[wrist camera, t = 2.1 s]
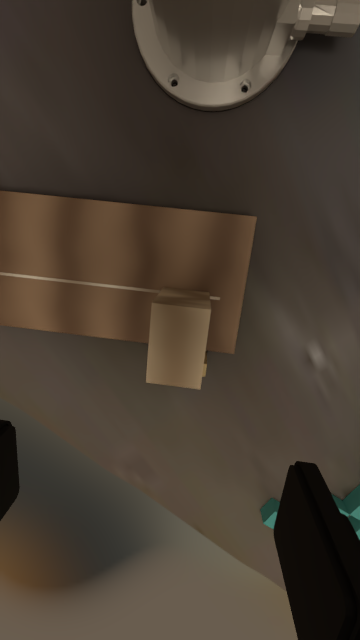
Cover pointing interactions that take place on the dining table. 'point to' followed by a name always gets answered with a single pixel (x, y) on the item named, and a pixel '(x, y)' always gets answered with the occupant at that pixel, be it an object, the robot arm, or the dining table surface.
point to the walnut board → (117, 265)
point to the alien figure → (354, 504)
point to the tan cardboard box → (178, 338)
